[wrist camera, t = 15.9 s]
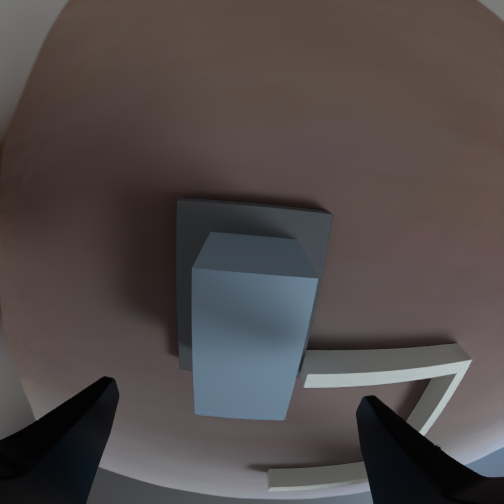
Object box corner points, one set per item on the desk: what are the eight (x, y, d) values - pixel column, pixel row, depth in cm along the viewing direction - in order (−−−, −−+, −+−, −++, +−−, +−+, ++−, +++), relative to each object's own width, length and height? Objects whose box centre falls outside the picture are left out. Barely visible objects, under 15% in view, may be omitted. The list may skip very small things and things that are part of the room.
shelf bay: (383, 461, 25) (389, 476, 22) (267, 473, 24) (268, 491, 22) (457, 342, 19) (472, 359, 17) (301, 349, 18) (307, 374, 16)
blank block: (297, 239, 15) (318, 278, 10) (277, 360, 18) (284, 420, 13) (210, 231, 15) (191, 268, 10) (206, 355, 17) (195, 414, 13)
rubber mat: (297, 368, 19) (299, 377, 18) (182, 359, 19) (179, 368, 18) (327, 210, 15) (332, 214, 15) (181, 197, 15) (177, 200, 14)
